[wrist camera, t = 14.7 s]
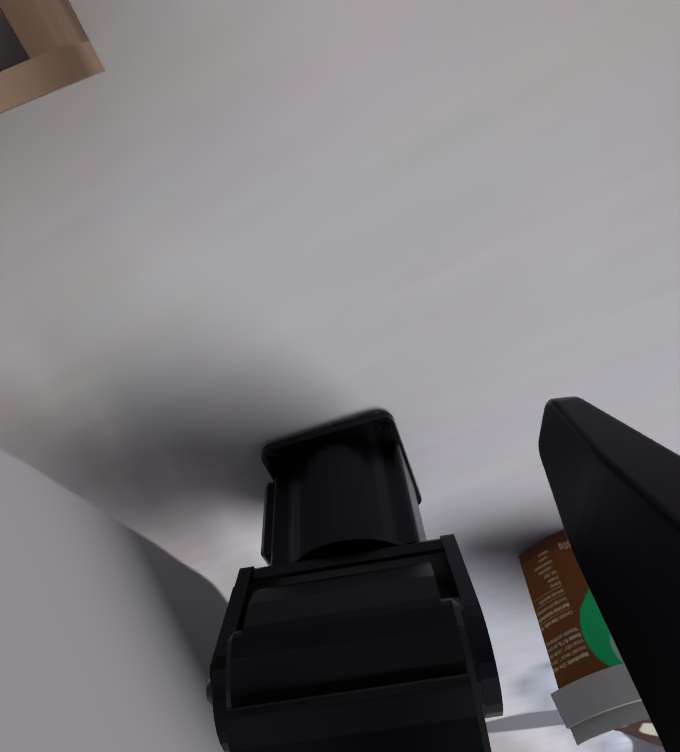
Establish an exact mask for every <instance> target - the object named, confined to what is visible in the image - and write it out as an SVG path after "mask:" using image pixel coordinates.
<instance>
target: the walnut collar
mask: <svg viewBox="0 0 680 752" xmlns="http://www.w3.org/2000/svg"><path fill="white" fill-rule="evenodd" d="M0 8H1V10H2V12H3V13H4V15H5V17H6V18H7V20H8V22H9V24H10V25H11V27H12V29H13V30H14V32H15V34H16V36H17V37H18V39H19V41H20V42H21V44H22V46H23V47H24V49H25V51H26V53H27V54H28V56H29V58H30V59H29V60H27V61H24V62H22V63H20V64H17V65H15V66H13V67H10V68H8V69H6V70H3V71H1V72H0V113H2V112H5V111H7V110H10V109H12V108H15V107H17V106H19V105H22V104H24V103H27V102H29V101H32V100H34V99H37V98H39V97H41V96H44V95H46V94H49V93H51V92H54V91H56V90H59V89H61V88H63V87H66V86H68V85H71V84H73V83H76V82H78V81H81V80H83V79H85V78H88V77H90V76H93V75H95V74H98V73H100V72H103V71H105V70H104V68H103V66H102V64H101V62H100V60H99V59H98V57H97V55H96V53H95V51H94V49H93V47H92V45H91V43H90V41H89V39H88V37H87V35H86V33H85V31H84V30H83V28H82V26H81V24H80V22H79V20H78V18H77V16H76V14H75V12H74V10H73V8H72V6H71V4H70V3H69V1H68V0H0Z"/></svg>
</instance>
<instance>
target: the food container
mask: <svg viewBox="0 0 680 752" xmlns="http://www.w3.org/2000/svg"><path fill="white" fill-rule="evenodd" d="M518 557H519V560H520V563H521V566H522V570H523V573H524V576H525V580H526V583H527V586H528V589H529V593H530V596H531V599H532V603H533V606H534V609H535V613H536V616H537V619H538V622H539V626H540V629H541V632H542V636H543V639H544V642H545V645H546V649H547V652H548V655H549V659H550V662H551V665H552V668H553V672H554V675H555V678H556V682H557V685H558V688H559V690H557V691H555V692H554V693H552V694H551V697H552V699H553V701H554V703H555V705H556V707H557V709H558V711H559V713H560V715H561V717H562V719H563V721H564V723H565V725H566V728H568V729H571V731H572V734H573V736H574V739H575V741H576V744H577V746H579V745H581V744H583V743H585V742H587V741H589V740H591V739H593V738H595V737H597V736H600V735H602V734H604V733H606V732H609V731H611V730H617V731H621V732H624V733H626V734H629V735H632V736H634V737H637V738H639V739H642V740H644V741H647V742H649V743H652V744H655V745H659V746H663V745H662V743H661V741H660V739H659V737H658V735H657V732H656V730H655V728H654V726H653V724H652V722H651V720H650V717H649V715H648V713H647V711H646V709H645V707H644V705H643V702H642V700H641V698H640V696H639V694H638V692H637V690H636V687H635V685H634V683H633V681H632V679H631V677H630V675H629V672H628V670H627V668H626V666H625V664H624V662H623V660H622V657H621V655H620V653H619V651H618V649H617V647H616V645H615V642H614V640H613V638H612V636H611V634H610V632H609V630H608V627H607V625H606V623H605V621H604V619H603V617H602V615H601V612H600V610H599V608H598V606H597V604H596V602H595V600H594V597H593V595H592V593H591V591H590V589H589V587H588V585H587V582H586V580H585V578H584V576H583V574H582V572H581V570H580V567H579V565H578V563H577V561H576V558H575V556H574V554H573V551H572V549H571V546H570V543H569V541H568V538H567V535H566V532H565V530H564V531H561V532H559V533H556V534H554V535H551V536H549V537H547V538H545V539H543V540H541V541H539V542H537V543H536V544H534V545H533V546H531V547H530V548H528V549H527V550H526V551H524V552H523V553H522V554H521V555H519V556H518Z"/></svg>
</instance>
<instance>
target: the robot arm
mask: <svg viewBox="0 0 680 752" xmlns="http://www.w3.org/2000/svg"><path fill="white" fill-rule="evenodd" d="M381 422H387V423H386V424H380V423H381ZM539 453H540V457H541V460H542V463H543V466H544V469H545V472H546V475H547V478H548V481H549V484H550V487H551V490H552V493H553V496H554V499H555V502H556V505H557V508H558V511H559V514H560V517H561V520H562V523H563V526H564V529H565V532H566V535H567V538H568V541H569V543H570V546H571V549H572V551H573V554H574V556H575V558H576V561H577V563H578V565H579V567H580V570H581V572H582V574H583V576H584V578H585V580H586V582H587V585H588V587H589V589H590V591H591V593H592V595H593V597H594V600H595V602H596V604H597V606H598V608H599V610H600V612H601V615H602V617H603V619H604V621H605V623H606V625H607V627H608V630H609V632H610V634H611V636H612V638H613V640H614V642H615V645H616V647H617V649H618V651H619V653H620V655H621V657H622V660H623V662H624V664H625V666H626V668H627V670H628V672H629V675H630V677H631V679H632V681H633V683H634V685H635V687H636V690H637V692H638V694H639V696H640V698H641V700H642V702H643V705H644V707H645V709H646V711H647V713H648V715H649V717H650V720H651V722H652V724H653V726H654V728H655V730H656V732H657V735H658V737H659V739H660V741H661V743H662V745H663V747H664V750H665V752H680V455H678V454H676V453H674V452H673V451H671V450H669V449H667V448H666V447H664V446H662V445H661V444H659V443H657V442H655V441H654V440H652V439H650V438H648V437H647V436H645V435H643V434H642V433H640V432H638V431H636V430H635V429H633V428H631V427H630V426H628V425H626V424H624V423H623V422H621V421H619V420H617V419H616V418H614V417H612V416H611V415H609V414H607V413H605V412H604V411H602V410H600V409H598V408H597V407H595V406H593V405H592V404H590V403H588V402H586V401H585V400H583V399H581V398H579V397H563V398H554V399H551V400H549V401H548V402H547V403H546V405H545V408H544V414H543V419H542V425H541V430H540V436H539ZM269 454H275V456H270V455H269ZM261 459H262V461H263V463H264V465H265V466H266V468H267V470H268V472H269V473H270V475H271V477H272V478H273V480H274V482H272V483H268V485H267V486H266V488H265V501H264V515H263V530H262V544H261V555H262V557H263V558H264V560H265V561H266V563H267V564H268V566H267V567H261V568H254V566H253V567H246V568H240V570H239V573H238V577H237V580H236V583H235V587H233V590H232V593H231V597H230V600H229V603H228V607H227V610H226V614H225V617H224V621H223V624H222V628H221V631H220V634H219V638H218V641H217V644H216V648H215V652H214V655H213V658H212V661H211V665H210V680H209V682H208V684H207V690H206V693H207V700H208V702H209V703H210V704H211V705H212V706H213V712H214V721H215V726H216V731H217V735H218V738H219V741H220V744H221V746H222V748H223V750H224V752H491V747H490V742H489V737H488V733H487V728H486V723H485V718H490V717H497V716H502V715H503V702H502V694H501V688H500V682H499V676H498V672H497V667H496V662H495V658H494V653H493V649H492V645H491V641H490V637H489V634H488V630H487V626H486V623H485V620H484V616H483V613H482V610H481V607H480V604H479V602H478V599H477V596H476V593H475V591H474V588H473V585H472V582H471V580H470V577H469V574H468V572H467V569H466V566H465V563H464V561H463V558H462V555H461V553H460V550H459V547H458V544H457V542H456V539H455V536H454V534H451V535H444V536H440V539H434V540H428V541H426V536H425V532H424V528H423V524H422V519H421V515H420V511H419V506H418V505H419V504H420V503H421V495H420V492H419V489H418V486H417V483H416V480H415V477H414V474H413V472H412V469H411V466H410V463H409V460H408V457H407V455H406V452H405V449H404V446H403V443H402V440H401V438H400V435H399V432H398V429H397V426H396V423H395V421H394V418H393V416H392V415H391V414H390V413H388V412H380V413H376V414H373V415H369V416H366V417H363V418H359V419H356V420H352V421H349V422H345V423H342V424H338V425H335V426H331V427H328V428H325V429H321V430H318V431H314V432H311V433H307V434H304V435H300V436H297V437H293V438H290V439H287V440H283V441H280V442H276V443H273V444H269V445H267V446H265V447H264V448H263V449H262V455H261Z"/></svg>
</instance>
